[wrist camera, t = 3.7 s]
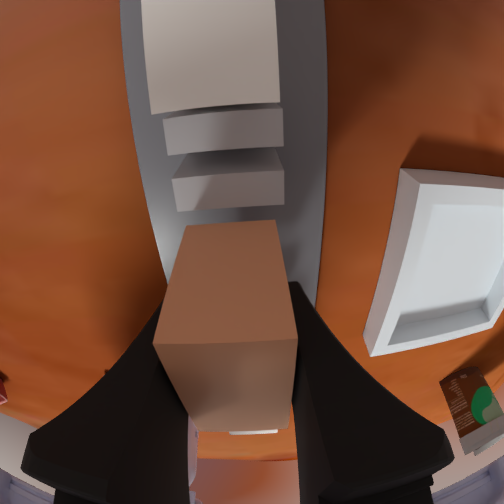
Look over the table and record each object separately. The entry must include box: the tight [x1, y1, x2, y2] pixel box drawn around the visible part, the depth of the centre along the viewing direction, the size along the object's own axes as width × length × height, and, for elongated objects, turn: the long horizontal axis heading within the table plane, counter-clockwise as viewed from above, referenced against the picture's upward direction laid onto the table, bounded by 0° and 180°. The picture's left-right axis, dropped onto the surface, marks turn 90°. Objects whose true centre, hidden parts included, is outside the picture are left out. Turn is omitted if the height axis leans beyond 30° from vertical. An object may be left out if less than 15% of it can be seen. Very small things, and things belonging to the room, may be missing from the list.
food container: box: [439, 367, 504, 456], centre depth 23 cm, size 12×6×10 cm, turn 45°
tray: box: [363, 168, 504, 357], centre depth 15 cm, size 12×12×2 cm
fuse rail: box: [120, 0, 328, 308], centre depth 13 cm, size 28×8×4 cm, turn 3°
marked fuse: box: [153, 220, 298, 432], centre depth 9 cm, size 5×3×5 cm, turn 3°
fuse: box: [141, 0, 280, 115], centre depth 7 cm, size 5×3×5 cm, turn 3°
